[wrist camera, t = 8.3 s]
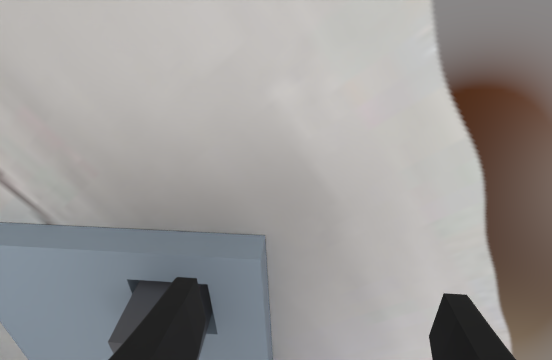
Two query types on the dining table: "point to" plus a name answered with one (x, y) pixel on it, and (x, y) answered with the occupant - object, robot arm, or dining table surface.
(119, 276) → the socket plate
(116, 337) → the block
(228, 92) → the dining table surface
